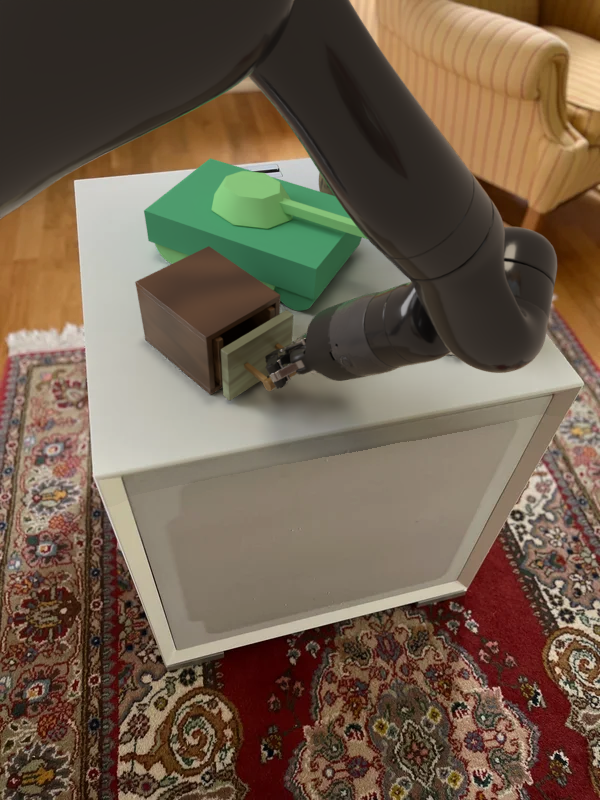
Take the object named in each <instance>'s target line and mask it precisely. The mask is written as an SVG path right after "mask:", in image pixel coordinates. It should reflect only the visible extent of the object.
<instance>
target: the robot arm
mask: <svg viewBox="0 0 600 800" xmlns="http://www.w3.org/2000/svg"><path fill="white" fill-rule="evenodd" d="M247 78H249V79H250V80H251V82H252V83H253V84H254V85H255V86H256V87H257V88H258V89H259V90H260V91H261V93H262V94H263V95H264V96H265V97H266V99H268V101H269V102H270V103H271V105H272V106H273V107H274V108H275V110H276V111H277V112H278V113H279V114H280V116H281V117H282V118H283V119H284V121H285V122H286V123H287V125H288V127H289V128H290V130H291V131H292V132H293V133H294V135H295V136H296V138H297V140H298V141H299V142H300V144H301V145H302V147H303V149H304V150H305V151H306V153H307V155H308V156H309V158H310V159H311V161H312V163H313V165H314V166H315V167H316V169H317V171H318V173H319V172H320V174H321V175H322V177H323V179H324V180H325V182H326V183H327V185H328V186H329V188H330V190H331V191H332V193H333V194H334V196H335V197H336V199H337V200H338V202H339V203H340V204H341V206H342V207H343V209H344V210H345V211H346V213H347V214H348V215H349V217H350V218H351V219H352V221H353V222H354V223H355V225H356V226H357V227H358V228H359V230H360V231H361V232H362V233H363V234H364V235H365V237H366V238H367V239H366V240H368V242H370V243H371V245H373V246H374V247H375V248H376V249H377V250H378V251H379V252H380V253H381V254H382V255H383V256H384V257H385V258H386V259H387V260H389V262H391V263H392V265H393V266H394V267H396V268H397V269H398V271H400V272H401V273H402V275H404V276H405V277H406V278H407V279H408V280H409V282H405V283H402V284H399V285H397V286H394V287H391V288H388V289H384V290H383V291H377V292H371V293H365V294H363V295H360V296H357V297H354V298H351V299H349V300H346V301H343V302H340V303H337V304H334V305H332V306H329V307H326V308H324V309H322V310H320V311H319V312H318V313H317V314H315V315H314V316H313V318H312V319H311V321H310V322H309V324H308V326H307V331H306V333H304V334H302V335H300V336H299V337H298V338H297V339H296V340H293V341H292V342H291V343H290V344H288V345H287V346H285V347H284V348H280V349H277V350H274V351H273V352H271V353H270V354H268V355H266V356H265V359H266V360H265V362H266V363H267V365H266V370H267V372H268V374H269V375H268V377H270V378H271V379H272V381H273V383H274V385H275V387H276V388H275V389H277V390H279V389H282V388H284V387H285V386H286V385H287V384H288V382H289V381H290V380H291V378H292V377H291V378H290V377H289V375H290V374H292V373H293V372H295V371H296V373H297V374H298V375H305V374H307V373H310V374H312V375H315V374H320V375H321V376H323V377H325V378H326V379H328V380H332V381H335V382H336V381H337V382H345V381H350V380H354V379H361V378H366V377H370V376H375V375H376V376H377V375H381V374H386V373H390V372H392V371H395V370H397V369H401V368H403V367H409V366H414V365H418V364H425V363H430V362H434V361H438V360H440V359H442V358H445V357H446V356H447V355H448V354H449V353H450V352H451V353H452V354H453V356H454V357H456V358H457V359H458V360H460V361H461V362H463V363H464V364H466V365H467V366H469V367H472V368H474V369H476V370H478V371H482V372H487V373H491V374H492V373H493V374H505V373H510V372H514V371H518V370H520V369H523V368H524V367H526V366H528V365H529V364H531V362H533V361H534V360H535V359H536V358H537V357H538V355H539V354H540V353H541V350H542V349H543V347H544V344H545V341H546V337H547V333H548V332H547V331H548V325H549V320H550V313H551V308H552V304H553V303H552V302H553V296H554V291H555V285H556V279H557V273H558V257H557V254H556V253H557V252H556V250H555V248H554V246H553V244H551V242H550V241H549V240H548V238H546V237H545V236H544V235H543V234H541V233H539V232H537V231H535V230H533V229H530V228H525V227H522V226H521V227H520V226H505V225H504V221H503V218H502V215H501V214H500V212H499V209H498V208H497V206H496V205H495V203H494V201H493V200H492V199H491V197H490V196H489V195H488V193H487V191H486V190H485V189H484V187H483V186H482V185H481V183H480V182H479V180H478V179H477V178H476V177H475V175H474V174H473V173H472V171H471V170H470V169H469V167H468V165H466V163H465V161H464V160H463V159H462V158H461V156H460V155H459V154H458V153H457V151H456V150H455V148H454V147H453V145H451V143H450V142H449V141H448V138H446V137H445V135H444V134H443V133H442V131H441V130H440V129H439V128H438V126H437V124H435V122H434V121H433V119H432V118H431V117H430V116H429V114H428V113H427V112H426V111H425V109H424V108H423V106H422V105H421V104H420V103H419V101H418V99H417V98H416V97H415V95H414V94H413V93H412V91H411V90H410V89H409V88H408V86H407V85H406V83H405V82H404V80H402V78H401V76H400V75H399V74H398V72H397V71H396V70H395V68H394V67H393V65H392V64H391V62H390V61H389V60H388V58H387V57H386V56H385V54H384V52H383V51H382V50H381V48H380V46H379V45H378V44H377V43H376V41H375V39H374V38H373V36H372V34H371V33H370V31H369V29H368V28H367V26H366V25H365V24H364V22H363V21H362V19H361V17H360V16H359V14H358V12H357V10H356V8H355V7H354V5H353V4H352V2H351V0H0V221H1V220H3V219H5V218H6V217H8V216H10V214H12V213H14V212H15V211H17V210H18V209H20V208H21V207H23V206H24V205H25V204H26V203H28V202H29V201H31V200H33V199H34V198H35V197H36V196H38V195H39V194H40V193H42V192H43V191H45V190H46V189H47V188H49V187H50V186H52V185H54V184H55V183H57V181H60V180H61V179H62V178H63V177H66V176H67V175H69V174H71V173H73V172H74V171H76V170H78V169H79V168H81V167H83V166H85V165H87V164H88V163H91V162H93V161H95V160H96V159H98V158H100V157H102V156H104V155H106V154H108V153H110V152H112V151H114V150H116V149H118V148H120V147H122V146H124V145H126V144H128V143H130V142H133V141H134V140H136V139H138V138H141V137H143V136H145V135H147V134H149V133H151V132H152V131H155V130H157V129H159V128H161V127H162V126H165V125H167V124H169V123H171V122H173V121H175V120H177V119H179V118H181V117H183V116H184V115H187V114H189V113H190V112H193V111H194V110H197V109H199V108H200V107H201V106H202V107H203V106H204V105H206V104H208V103H209V102H211V101H213V100H215V99H217V98H219V97H220V96H222V95H224V94H226V93H227V92H229V91H230V90H232V89H234V88H235V87H237V86H238V85H240V84H242V82H244V81H245V80H246V79H247ZM448 356H449V355H448Z"/></svg>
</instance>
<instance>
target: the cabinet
mask: <svg viewBox="0 0 600 800" xmlns="http://www.w3.org/2000/svg"><path fill="white" fill-rule="evenodd" d="M134 283H135V288H136V293H137V299H138V300H137V301H138V307H139V311H140V312H139V313H140V317H141V322H142V329H143V335H144V339H145V341H146V342H147V343H148V344H150V345H151V347H153V348H154V349H156V350H157V351H158V352H159V353H160V354H162V355H163V356H164V357H165V358H166V359H167V360H169V361H170V362H171V363H172V364H173V365H174V366H176V367H177V368H178V369H179V370H180V371H182V372H183V373H184V374H185V375H186V376H187V377H189V378H190V379H191V380H192V381H193V382H194V383H196V385H198V386H199V387H200V388H201V389H203V390H204V391H205V392H206V393H208V395H210V396H212V395H213V394H215V393H217V392H218V391H219V390H221V389H223V384H222V385H220V384H218V383H217V382H216V381H215V380H214V366H213V351H212V339H214V338H216V337H217V336H219V335H221V334H223V333H224V332H226V331H228V330H229V329H231V328H233V327H235V326H236V325H238V324H240V323H241V322H243V321H245V320H247V319H248V318H250V317H252V316H253V315H255V314H257V313H259V312H260V311H262V310H264V309H266V308H267V307H269V306H272V307H274V308H275V317H276V316H277V315H279V314H281V301H280V295H279V294H278V293H276V292H275V290H272V289H271V288H269V287H268V286H266V285H265V284H263V283H262V282H260V281H259V280H258V279H256V278H255V277H253V276H252V275H250V274H249V273H247V272H246V271H244V270H243V269H242V268H240V267H239V266H237V265H236V264H234V263H233V262H231V261H230V260H228V259H227V258H226V257H224V256H223V255H221V254H220V253H218V252H217V251H215V250H214V249H212V248H211V247H210V246H208V247H206V248H204V249H202V250H200V251H198V252H196V253H194V254H192V255H190V256H187V257H185V258H183V259H181V260H179V261H177V262H175V263H173V264H171V263H170V264H169V265H167V266H165V267H163V268H160V269H159V270H157V271H155V272H153V273H150V274H148V275H146V276H144V277H142V278H140V279H138V280H136V281H135V282H134Z"/></svg>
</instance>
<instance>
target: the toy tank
mask: <svg viewBox="0 0 600 800" xmlns="http://www.w3.org/2000/svg"><path fill="white" fill-rule="evenodd" d="M143 212H144V221H145V226H146V234H147V240H148V242H150V243H153V244H154V246H155V248H156V250H157V252H158V253H159V254H160V256H161V258H163V259H164V260H165V261H166V262H167V263H169V264H170V265H171V264H173V263H175V262H177V261H179V260H181V259H183V258H185V257H187V256H190V255H192V254H194V253H196V252H198V251H200V250H202V249H204V248H206V247H208V246H210V247H211V248H212V249H214V250H215V251H217V252H218V253H220V254H221V255H223V256H224V257H226V258H227V259H228V260H230V261H231V262H233V263H234V264H236V265H237V266H239V267H240V268H242V269H243V270H244V271H246V272H247V273H249V274H250V275H252V276H253V277H255V278H256V279H258V280H259V281H260V282H262V283H263V284H265V285H266V286H268V287H269V288H271V289H272V290H274V291H275V292H276V293H278V294H279V295H280V303H282V304H283V305H285V307H287V308H289V309H291V310H292V311H293V310H294V311H297V312H301V311H306V310H308V309H310V308H311V307H312V306H313V304H314V303H315V302H316V301H317V300H318V298H319V297H320V295H321V294H322V293H323V292H324V291H325V290H326V288H327V286H328V285H329V284H330V283H331V281H333V279H334V278H335V276H336V275H337V274H338V272H339V271H340V270H341V269H342V267H343V266H344V265H345V264H346V262H347V261H348V260H349V258H350V257H351V256H352V255H353V253H354V252H355V251H356V250H357V249H358V247H359V246H360V244H361V241H362V239H365V240H368V239H367V238H366V237H365V235H364V234H363V233H362V232H361V231H360V230H359V228H358V227H357V226H356V225H355V223H354V222H353V221H352V219H351V218H350V217H349V215H348V214H347V213H346V211H345V210H344V209H343V207H342V206H341V204H340V203H339V202H338V200H337V199H336V197H335V196H333V195H329V194H326V193H323V192H320V190H317V189H313V188H309V187H306V186H303V185H299V184H297V183H293V182H289V181H286V180H283V179H280V178H276V177H273V176H271V175H269V174H267V173H265V172H260V171H259V172H257V171H254V170H250V169H246V168H243V167H240V166H237V165H234V164H231V163H228V162H223V161H221V160H217V159H215V158H208V159H207V160H206V161H205V162H203V163H202V164H201V165H199V166H198V167H197V168H196V169H194V170H193V171H192V172H190V173H189V174H188V175H187V176H186V177H184V178H183V179H182V180H181V181H179V182H178V183H177V184H175V185H174V186H173V187H171V188H170V189H169V190H168V191H167V192H165V193H164V194H163V195H161V197H159V198H157V199H156V200H155V201H154V202H153V203H152V204H150V205H148V207H146V208H145V209H144V210H143Z"/></svg>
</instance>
